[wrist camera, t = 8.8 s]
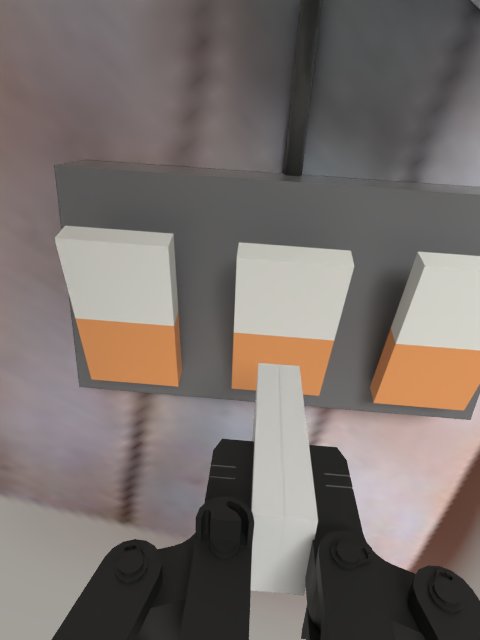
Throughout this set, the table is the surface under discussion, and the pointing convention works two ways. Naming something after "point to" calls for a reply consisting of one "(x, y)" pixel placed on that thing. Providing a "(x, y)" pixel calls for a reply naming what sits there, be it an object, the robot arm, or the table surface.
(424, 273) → the switch
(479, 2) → the tea box
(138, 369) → the switch
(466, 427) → the table surface
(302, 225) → the power strip
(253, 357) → the switch middle
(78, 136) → the table surface
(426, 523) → the table surface
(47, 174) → the table surface
